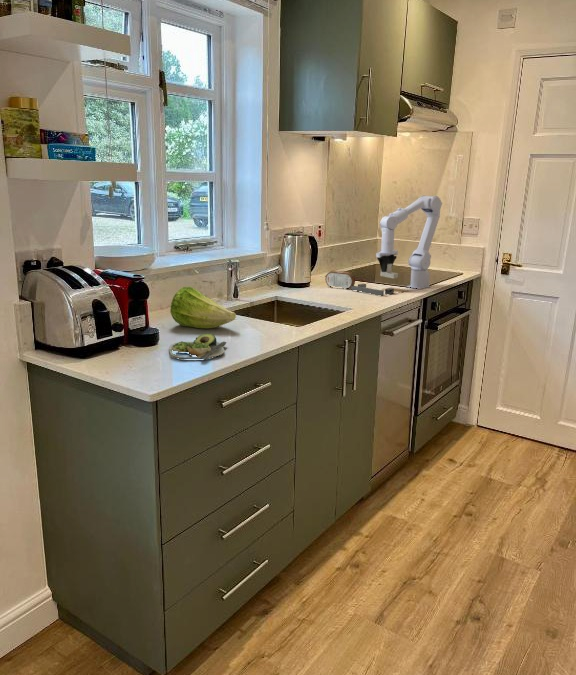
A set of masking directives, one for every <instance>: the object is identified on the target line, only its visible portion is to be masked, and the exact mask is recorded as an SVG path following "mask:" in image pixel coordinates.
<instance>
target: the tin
mask: <svg viewBox="0 0 576 675" xmlns="http://www.w3.org/2000/svg"><path fill="white" fill-rule="evenodd" d="M325 283H326V285H327V286H328V287H329V286H335V287H342V288H350V289H351V286H355V284H356V278H355V276H354V274H353V273H351V272H349V271H343V270H331V271H329V272H327V274H325Z"/></svg>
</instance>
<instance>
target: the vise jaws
mask: <svg viewBox="0 0 576 675" xmlns="http://www.w3.org/2000/svg"><path fill="white" fill-rule="evenodd" d="M387 288H388V289H386V288H384V289H385V291H384V290H382V289H377V288H369V287H367V283H359V284H357V285H354V286H351V288H350V290H351V289H352V290H357V291H362V292H366V293H371V294H370V295H372V294H375V295H374V296H378V295H381V296H380V297H384V296H383V295H387V294H390V295H393V294H392V293H395V292H394V288H395V287H393V288H390V287H387ZM366 293H365V294H366Z"/></svg>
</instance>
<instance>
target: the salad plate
mask: <svg viewBox="0 0 576 675" xmlns="http://www.w3.org/2000/svg"><path fill="white" fill-rule="evenodd" d="M227 343H228V342H226V341H222V342H220V341H217V338H216V336H215V335H214V334H212V333H203V334H200V335H198V336H196V337H195V340H193V341H183V340H182V341H179V342H175V343H173V344H170V345H169V348H168V351H169V355H170V356H171V357H172V358H174V357H175V358H179V359H208V358H212V357H215V358H217V357H216V356H218V357H220V356H222V355H223V354H224V353H225V349H224V347H225V345H226V344H227ZM172 350H173V351H178V352H189V354H191V355H196V356H197V357H191V355H190V356H180V355H175V354H173V353H172ZM189 354H188V355H189ZM219 355H220V356H219ZM175 358H174V359H175ZM212 359H213V358H212ZM208 360H209V359H208Z"/></svg>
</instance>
